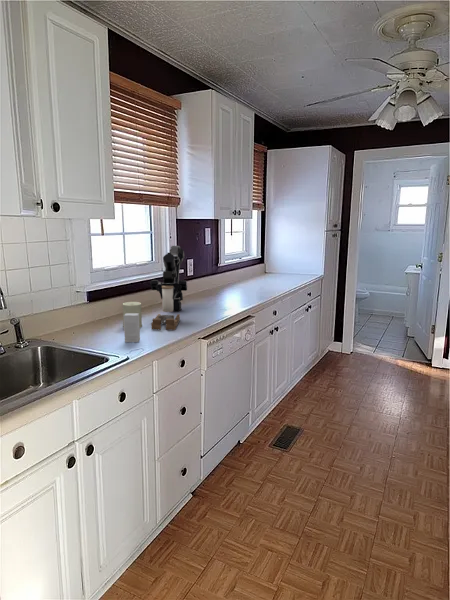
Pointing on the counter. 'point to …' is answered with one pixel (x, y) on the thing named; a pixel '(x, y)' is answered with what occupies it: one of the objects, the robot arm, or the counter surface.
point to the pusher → (164, 317)
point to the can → (132, 310)
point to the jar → (167, 298)
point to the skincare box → (131, 327)
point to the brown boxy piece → (170, 323)
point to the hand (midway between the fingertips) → (167, 298)
